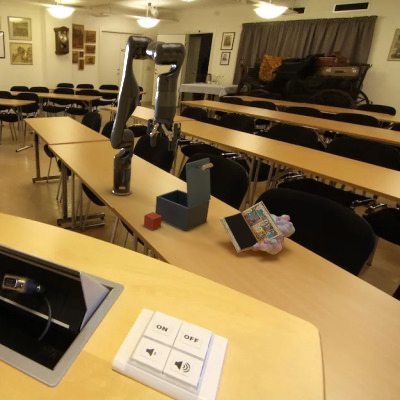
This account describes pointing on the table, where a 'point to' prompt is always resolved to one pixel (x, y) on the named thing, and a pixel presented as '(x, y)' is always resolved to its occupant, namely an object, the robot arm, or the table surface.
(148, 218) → the block
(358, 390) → the table surface
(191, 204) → the lid
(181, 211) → the hinged navy chest
